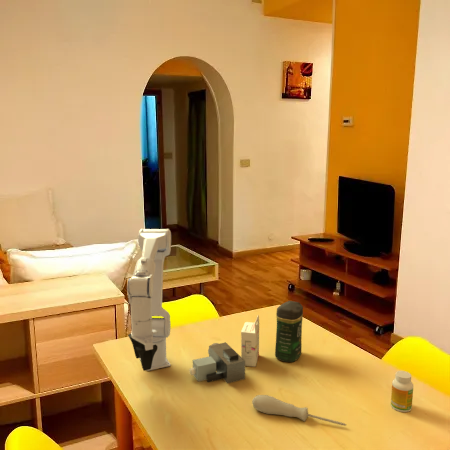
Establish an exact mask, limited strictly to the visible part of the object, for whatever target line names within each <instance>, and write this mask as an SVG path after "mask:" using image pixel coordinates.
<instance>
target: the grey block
mask: <svg viewBox="0 0 450 450" xmlns="http://www.w3.org/2000/svg"><path fill="white" fill-rule="evenodd" d="M216 372H217V371H216V362H215V361H214V359H213V358H212V357H211V356H210V357H209V356H206V357H200V358H196V359H193V360H192V367H190V368H189V374H190V375H191V376H193V377H194V378H195V379H196V381H197V382H202V381H207V374H212V373H216Z"/></svg>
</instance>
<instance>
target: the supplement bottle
mask: <svg viewBox="0 0 450 450" xmlns="http://www.w3.org/2000/svg"><path fill="white" fill-rule="evenodd" d="M413 396H414V383H413V382H412V374H411V373H410V372H409V371H405V370H398V371H396V372H395V377H394V379H393V380H392V382H391V396H390V406H391V408H392V409H393V410H394V411H397V412H401V413H408V412H410V411H411V410H412V408H413Z"/></svg>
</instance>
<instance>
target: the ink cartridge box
mask: <svg viewBox="0 0 450 450" xmlns="http://www.w3.org/2000/svg"><path fill="white" fill-rule="evenodd" d="M240 343H241V345H240V346H241V349H240V350H241V351H240V352H241V355H240V356H241V357H242V358H243V359H244V360H245V367H256V366H257V363H258V360H259V356H260V316H259V314H258V315H257V316H256V319H255V321H254V322H250V321H245V322H244V324H243V327H242V328H241V331H240Z"/></svg>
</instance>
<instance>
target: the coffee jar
mask: <svg viewBox="0 0 450 450" xmlns="http://www.w3.org/2000/svg"><path fill="white" fill-rule="evenodd" d="M303 309H304V306H303V305H302V303H300V302H298V301H294V300H293V301H292V300H288V301H285V302H284V303H282V304H280V305H279V306H278V307H277V308H276V314H275V315H276V316H275V318H276V334H275V337H276V338H275V348H274V355H275V356H274V357H275V358H276V359H277V360H279V361H281V362H285V363H289V362H290V363H291V362H293V363H294V362H295V361H297V360H298V359H299V358H300V357H301V355H302V345H303V344H302V336H303V335H302V330H303V315H304V310H303Z"/></svg>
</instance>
